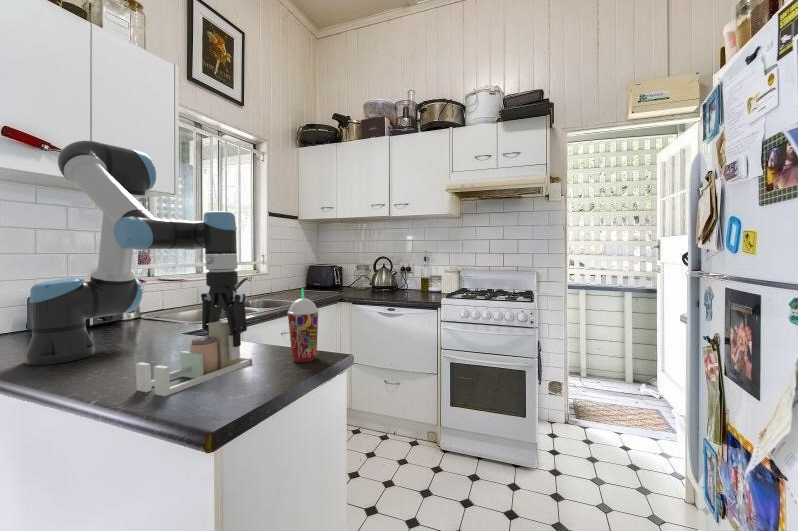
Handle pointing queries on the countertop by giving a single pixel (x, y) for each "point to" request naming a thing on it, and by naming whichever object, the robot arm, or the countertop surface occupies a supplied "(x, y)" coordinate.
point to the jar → (206, 352)
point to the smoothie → (303, 329)
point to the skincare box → (222, 342)
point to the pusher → (189, 365)
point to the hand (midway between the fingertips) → (225, 357)
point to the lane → (163, 379)
